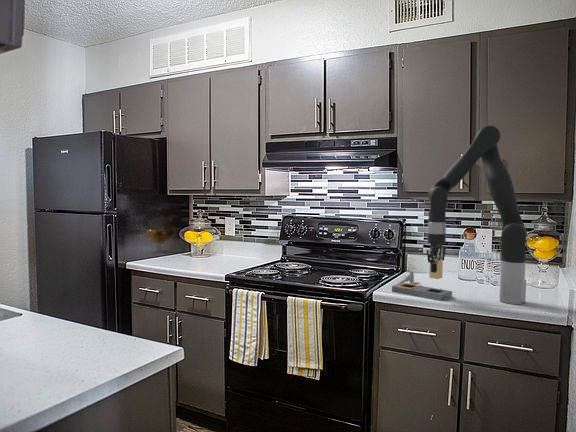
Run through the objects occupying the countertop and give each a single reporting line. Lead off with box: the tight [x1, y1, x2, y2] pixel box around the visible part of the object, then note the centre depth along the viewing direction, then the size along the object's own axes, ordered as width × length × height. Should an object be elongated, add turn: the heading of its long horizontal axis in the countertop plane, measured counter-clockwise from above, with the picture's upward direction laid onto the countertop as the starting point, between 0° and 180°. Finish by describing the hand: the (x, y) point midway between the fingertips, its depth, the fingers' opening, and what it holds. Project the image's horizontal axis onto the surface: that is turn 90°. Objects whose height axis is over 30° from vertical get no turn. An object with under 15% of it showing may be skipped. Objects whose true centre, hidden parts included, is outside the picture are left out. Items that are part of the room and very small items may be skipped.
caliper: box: [394, 270, 415, 285], centre depth 227 cm, size 20×1×6 cm, turn 139°
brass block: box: [428, 258, 444, 280], centre depth 203 cm, size 4×4×8 cm
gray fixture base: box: [391, 282, 453, 302], centre depth 209 cm, size 24×10×3 cm, turn 46°
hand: (436, 271), depth 204 cm, fingers closed on brass block, 4 cm apart
